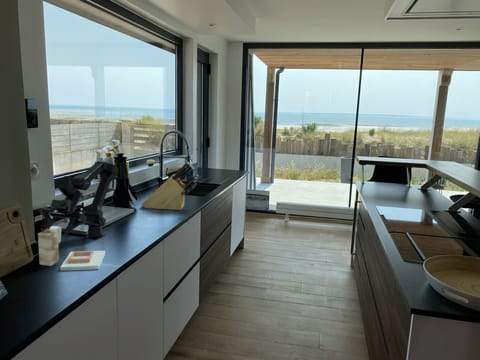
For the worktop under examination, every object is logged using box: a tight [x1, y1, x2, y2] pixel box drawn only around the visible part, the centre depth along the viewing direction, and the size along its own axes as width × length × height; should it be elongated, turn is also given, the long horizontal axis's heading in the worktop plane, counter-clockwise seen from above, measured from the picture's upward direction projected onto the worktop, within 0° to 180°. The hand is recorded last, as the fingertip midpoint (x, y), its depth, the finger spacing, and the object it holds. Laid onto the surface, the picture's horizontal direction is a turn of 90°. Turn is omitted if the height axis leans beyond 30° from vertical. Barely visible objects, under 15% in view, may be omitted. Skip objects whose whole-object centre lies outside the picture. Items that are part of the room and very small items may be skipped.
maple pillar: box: [37, 229, 60, 267], centre depth 147 cm, size 5×5×14 cm
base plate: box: [60, 250, 106, 272], centre depth 151 cm, size 16×14×3 cm
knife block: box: [141, 161, 199, 211], centre depth 238 cm, size 11×35×31 cm, turn 89°
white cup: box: [50, 225, 62, 244], centre depth 171 cm, size 7×7×7 cm
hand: (54, 233), depth 150 cm, fingers open, 9 cm apart
